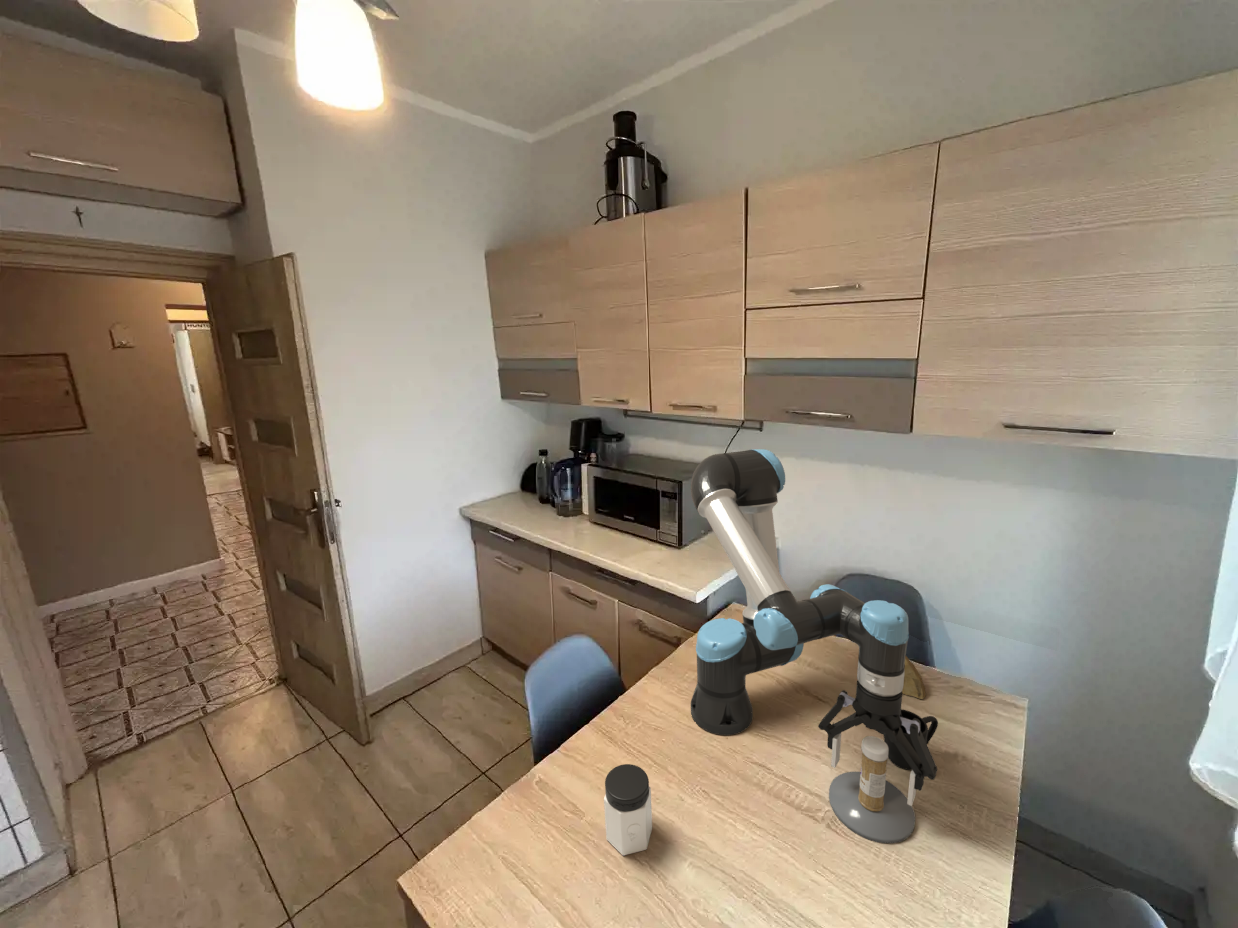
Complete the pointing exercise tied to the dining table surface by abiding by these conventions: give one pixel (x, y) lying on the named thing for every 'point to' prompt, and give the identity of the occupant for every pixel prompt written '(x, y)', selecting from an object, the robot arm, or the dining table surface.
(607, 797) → the jar
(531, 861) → the dining table surface
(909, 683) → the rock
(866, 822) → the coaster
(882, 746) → the sprinkles bottle
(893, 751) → the mug
